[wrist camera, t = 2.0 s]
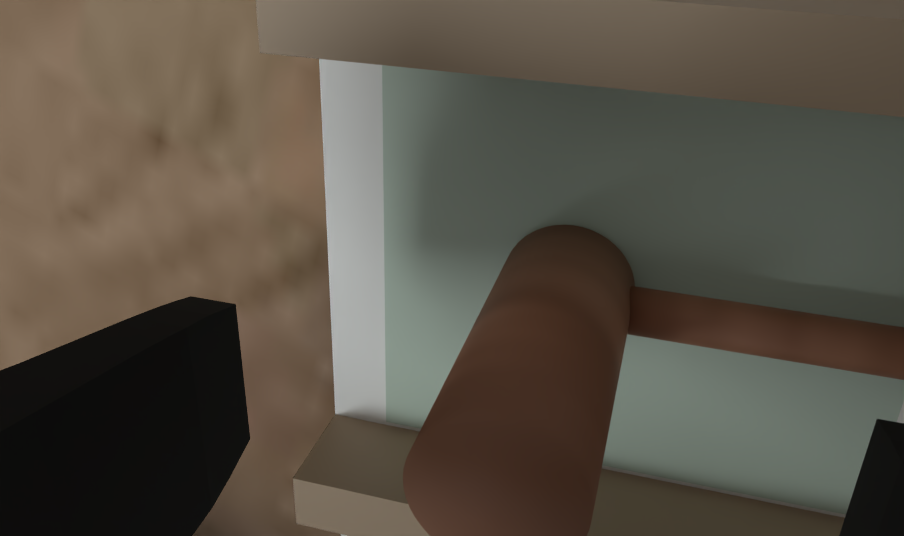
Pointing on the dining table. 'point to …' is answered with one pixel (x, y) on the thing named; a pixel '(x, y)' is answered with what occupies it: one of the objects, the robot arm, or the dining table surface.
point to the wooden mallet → (580, 382)
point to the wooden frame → (610, 231)
